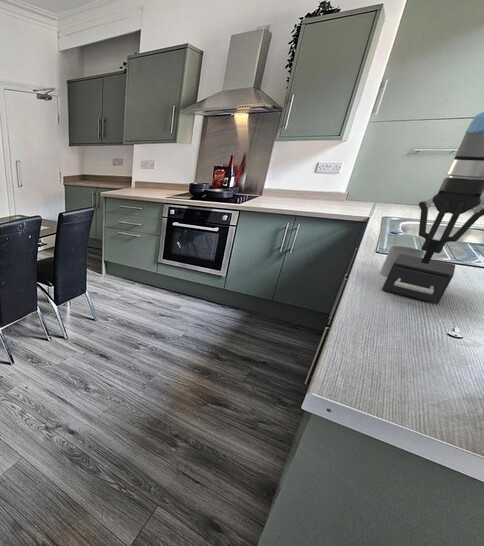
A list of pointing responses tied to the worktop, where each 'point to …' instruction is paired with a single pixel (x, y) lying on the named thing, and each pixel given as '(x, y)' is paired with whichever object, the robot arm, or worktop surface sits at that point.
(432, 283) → the dark pull-out drawer
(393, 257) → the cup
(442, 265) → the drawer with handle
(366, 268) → the worktop surface
